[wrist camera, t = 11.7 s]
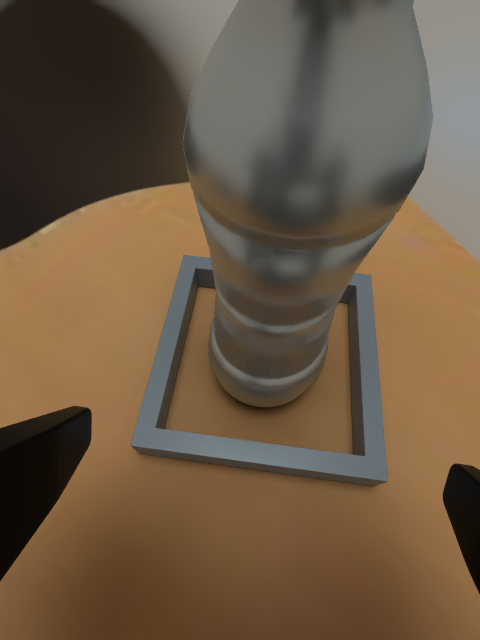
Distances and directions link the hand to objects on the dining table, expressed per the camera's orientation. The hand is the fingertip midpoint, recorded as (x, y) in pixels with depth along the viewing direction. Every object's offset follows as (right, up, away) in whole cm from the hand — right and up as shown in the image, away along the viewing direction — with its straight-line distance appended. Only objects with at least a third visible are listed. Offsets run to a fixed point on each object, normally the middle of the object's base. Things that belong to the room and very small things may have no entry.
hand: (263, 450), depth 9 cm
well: (+1, +1, +13) cm, 13 cm away
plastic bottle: (+1, 0, +13) cm, 13 cm away
